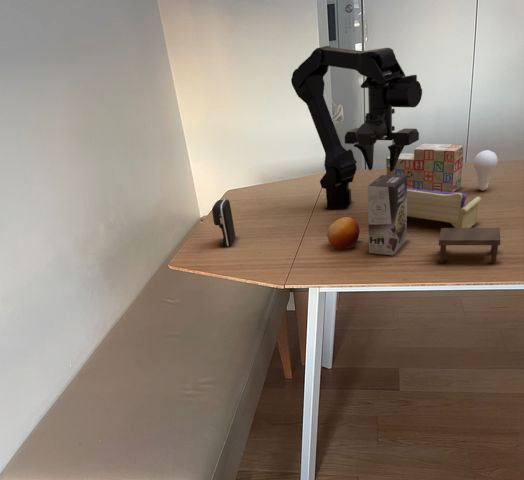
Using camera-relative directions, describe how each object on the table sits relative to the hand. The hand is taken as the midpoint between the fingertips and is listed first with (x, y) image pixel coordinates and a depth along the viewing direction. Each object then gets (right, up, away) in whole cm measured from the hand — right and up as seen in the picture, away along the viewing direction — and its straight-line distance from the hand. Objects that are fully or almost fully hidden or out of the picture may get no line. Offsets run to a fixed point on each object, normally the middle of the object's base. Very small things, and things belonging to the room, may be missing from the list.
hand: (381, 170), depth 137 cm
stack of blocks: (+17, +1, +20) cm, 27 cm away
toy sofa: (+12, -16, -4) cm, 20 cm away
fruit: (-11, -22, -8) cm, 26 cm away
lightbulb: (+32, -2, +11) cm, 34 cm away
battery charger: (-41, -18, +5) cm, 45 cm away
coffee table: (+14, -27, -23) cm, 39 cm away
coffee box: (-1, -23, -13) cm, 27 cm away
